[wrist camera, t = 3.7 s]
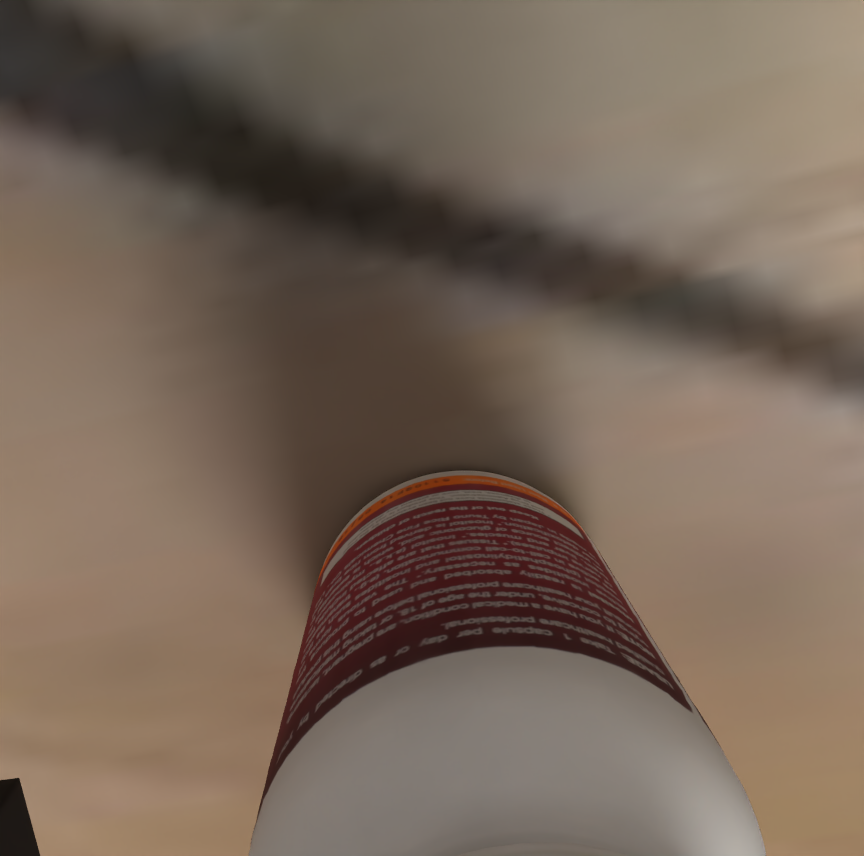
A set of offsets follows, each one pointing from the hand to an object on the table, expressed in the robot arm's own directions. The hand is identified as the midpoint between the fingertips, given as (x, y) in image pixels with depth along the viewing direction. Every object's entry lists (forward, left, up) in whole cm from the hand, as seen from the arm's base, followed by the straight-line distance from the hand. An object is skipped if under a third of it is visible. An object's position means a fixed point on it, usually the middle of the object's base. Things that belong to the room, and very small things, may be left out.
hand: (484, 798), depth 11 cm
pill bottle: (0, 0, -6) cm, 6 cm away
